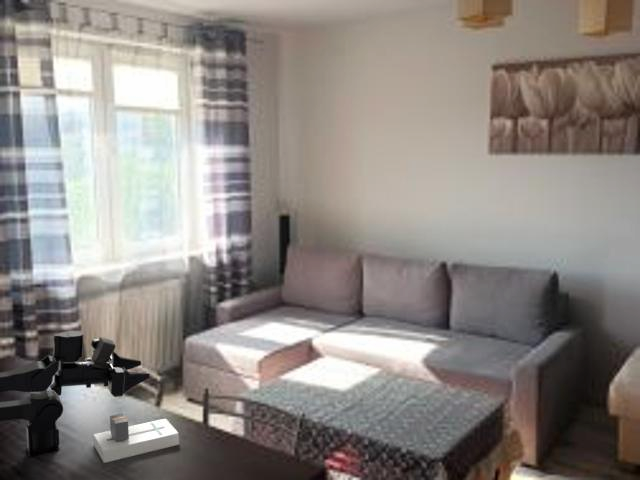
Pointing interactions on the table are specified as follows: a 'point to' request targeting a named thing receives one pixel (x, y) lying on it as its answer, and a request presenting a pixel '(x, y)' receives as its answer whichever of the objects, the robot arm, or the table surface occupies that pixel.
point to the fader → (119, 427)
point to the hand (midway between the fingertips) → (145, 369)
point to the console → (137, 440)
